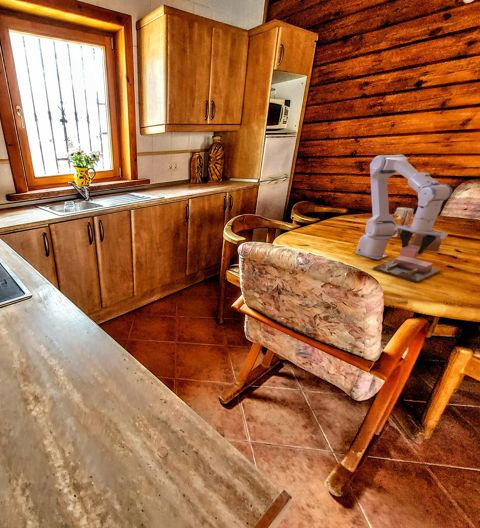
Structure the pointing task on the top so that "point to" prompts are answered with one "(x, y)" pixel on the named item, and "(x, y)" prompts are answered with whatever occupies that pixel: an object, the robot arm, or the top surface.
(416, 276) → the board
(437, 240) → the wooden block
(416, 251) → the loose pad
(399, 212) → the beer glass
